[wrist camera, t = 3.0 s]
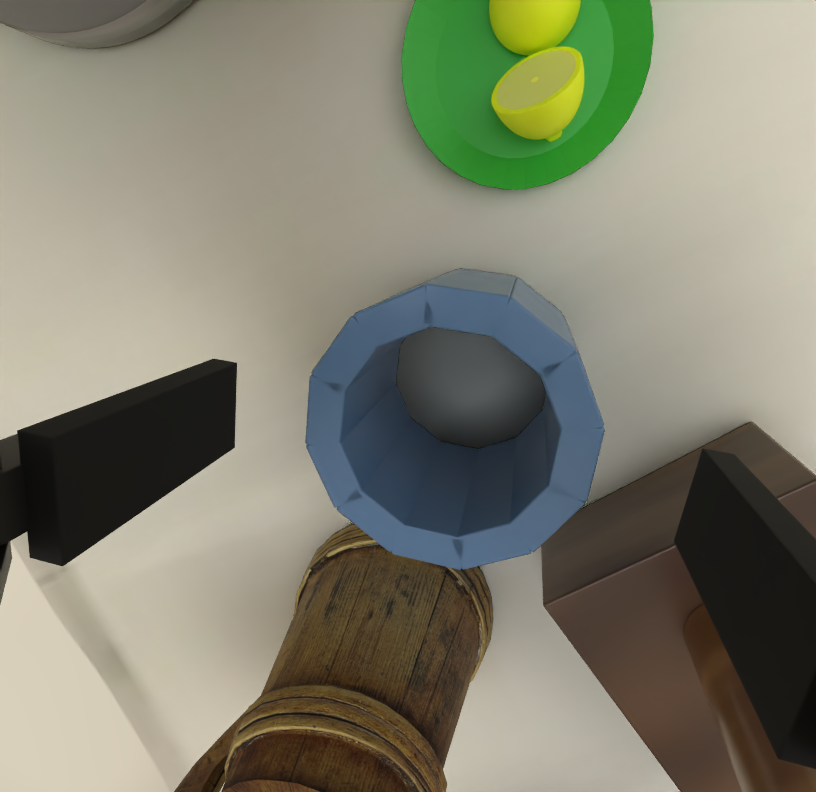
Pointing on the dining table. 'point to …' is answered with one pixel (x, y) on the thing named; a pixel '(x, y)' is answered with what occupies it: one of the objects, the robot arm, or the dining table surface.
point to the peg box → (670, 621)
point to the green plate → (523, 83)
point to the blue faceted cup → (443, 462)
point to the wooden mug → (359, 679)
